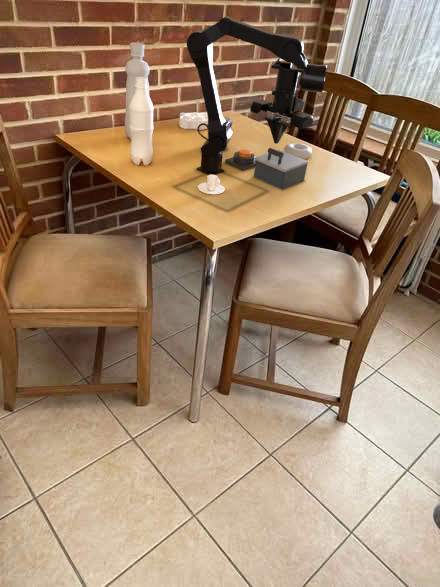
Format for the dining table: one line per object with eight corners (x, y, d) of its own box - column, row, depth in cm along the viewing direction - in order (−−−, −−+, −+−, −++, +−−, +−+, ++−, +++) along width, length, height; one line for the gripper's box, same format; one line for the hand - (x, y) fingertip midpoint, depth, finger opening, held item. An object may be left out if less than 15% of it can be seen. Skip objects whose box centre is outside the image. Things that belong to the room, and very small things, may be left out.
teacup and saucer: (211, 181, 139) (212, 168, 136) (231, 189, 135) (233, 176, 133) (192, 188, 133) (193, 175, 131) (213, 198, 130) (214, 184, 127)
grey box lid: (284, 172, 135) (287, 157, 132) (254, 159, 140) (256, 145, 138) (307, 163, 142) (310, 149, 140) (278, 151, 148) (280, 138, 145)
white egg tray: (212, 118, 190) (227, 129, 180) (171, 119, 183) (185, 131, 172) (213, 109, 188) (228, 121, 177) (172, 111, 181) (185, 122, 170)
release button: (245, 159, 149) (245, 154, 148) (236, 155, 151) (236, 150, 150) (252, 156, 151) (253, 152, 150) (243, 153, 153) (244, 148, 152)
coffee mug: (230, 145, 165) (233, 117, 159) (228, 154, 158) (231, 125, 152) (198, 141, 165) (200, 113, 159) (195, 149, 159) (197, 120, 152)
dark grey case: (282, 190, 139) (286, 171, 135) (253, 177, 144) (256, 159, 141) (303, 181, 146) (307, 163, 142) (275, 169, 152) (278, 152, 148)
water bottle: (149, 168, 141) (149, 82, 126) (127, 164, 142) (124, 78, 127) (156, 160, 147) (157, 77, 132) (135, 156, 148) (133, 73, 133)
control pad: (242, 170, 148) (244, 162, 146) (224, 162, 152) (225, 154, 150) (261, 164, 154) (263, 155, 152) (244, 156, 158) (245, 148, 156)
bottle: (120, 135, 162) (118, 41, 144) (144, 133, 167) (144, 41, 149) (131, 144, 157) (130, 46, 139) (155, 141, 161) (156, 46, 143)
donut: (289, 148, 169) (279, 155, 162) (290, 139, 167) (281, 146, 160) (314, 155, 166) (305, 163, 159) (316, 146, 164) (307, 153, 157)
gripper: (329, 92, 127) (316, 147, 136) (276, 77, 136) (267, 129, 145) (307, 97, 120) (295, 155, 129) (252, 81, 129) (245, 136, 138)
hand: (276, 143), depth 136 cm, fingers closed
